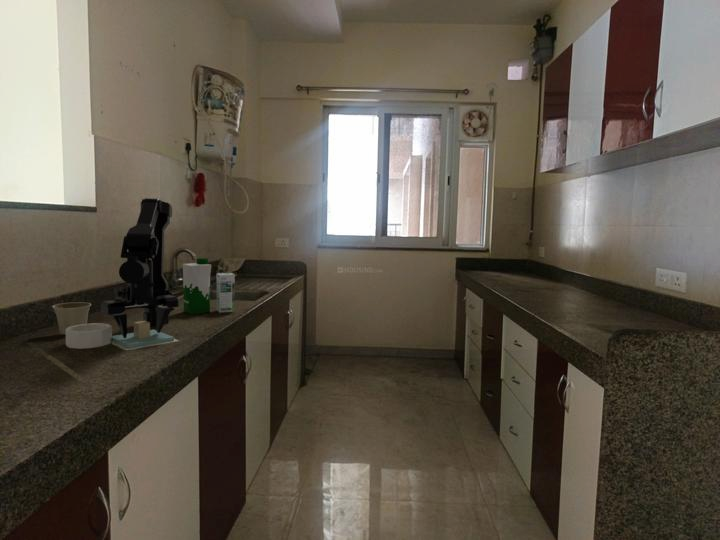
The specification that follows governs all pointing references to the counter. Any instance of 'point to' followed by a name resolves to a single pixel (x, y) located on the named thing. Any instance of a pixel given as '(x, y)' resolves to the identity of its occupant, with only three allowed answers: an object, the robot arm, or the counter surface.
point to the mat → (141, 346)
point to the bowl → (88, 335)
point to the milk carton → (196, 286)
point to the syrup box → (225, 292)
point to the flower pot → (71, 314)
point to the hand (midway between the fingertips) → (141, 335)
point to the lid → (142, 336)
